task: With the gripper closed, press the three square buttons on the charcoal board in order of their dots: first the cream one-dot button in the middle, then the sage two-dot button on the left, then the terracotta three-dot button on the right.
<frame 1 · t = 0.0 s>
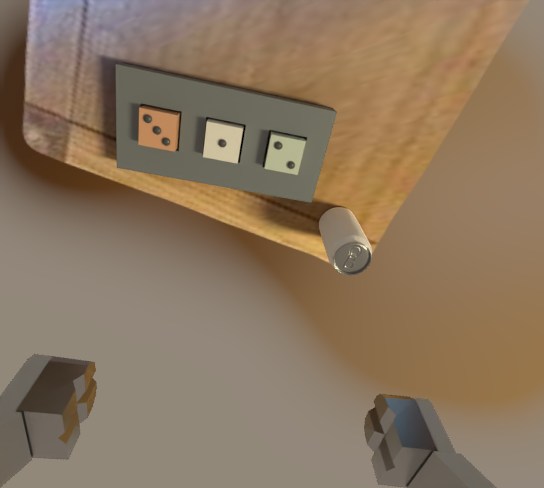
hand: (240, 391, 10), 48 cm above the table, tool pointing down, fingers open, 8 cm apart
three dot button: (159, 128, 50), point 3 cm above the table, slide at 0.0 cm
button board: (225, 135, 53), on the table
two dot button: (284, 152, 52), point 3 cm above the table, slide at 0.0 cm
one dot button: (223, 140, 51), point 3 cm above the table, slide at 0.0 cm
can: (336, 222, 61), on the table
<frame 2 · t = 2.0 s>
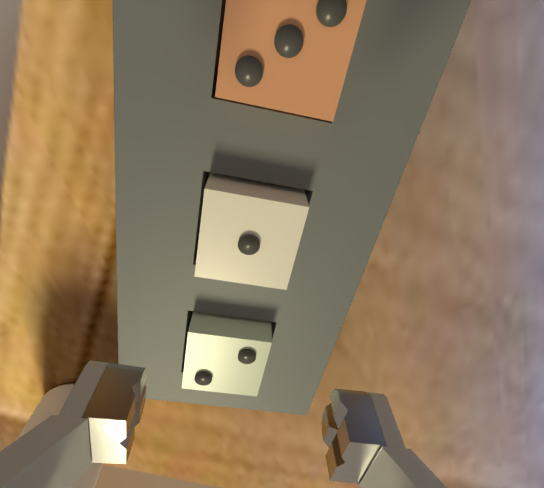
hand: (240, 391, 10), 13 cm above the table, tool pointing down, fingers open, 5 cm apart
three dot button: (286, 41, 15), point 3 cm above the table, slide at 0.0 cm
button board: (251, 207, 22), on the table
two dot button: (226, 349, 23), point 3 cm above the table, slide at 0.0 cm
one dot button: (249, 230, 19), point 3 cm above the table, slide at 0.0 cm
can: (84, 403, 31), on the table
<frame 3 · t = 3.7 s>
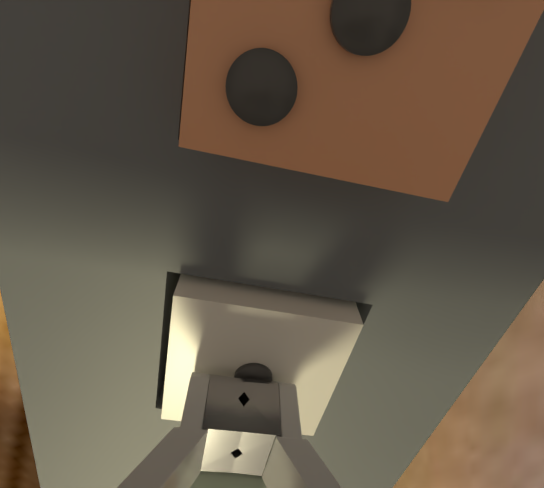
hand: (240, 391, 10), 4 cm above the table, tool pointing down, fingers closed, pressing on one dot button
three dot button: (347, 18, 6), point 3 cm above the table, slide at 0.0 cm
button board: (255, 299, 13), on the table
one dot button: (254, 340, 11), point 2 cm above the table, slide at 1.0 cm, touching gripper
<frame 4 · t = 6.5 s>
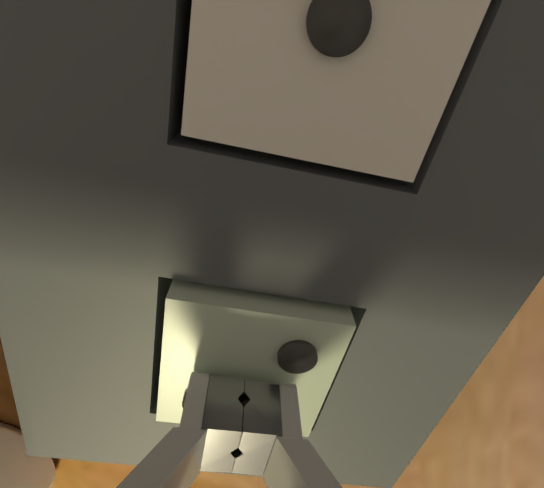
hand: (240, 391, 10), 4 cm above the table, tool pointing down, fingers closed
button board: (314, 28, 9), on the table
two dot button: (249, 342, 11), point 2 cm above the table, slide at 1.1 cm
one dot button: (325, 24, 7), point 2 cm above the table, slide at 1.3 cm
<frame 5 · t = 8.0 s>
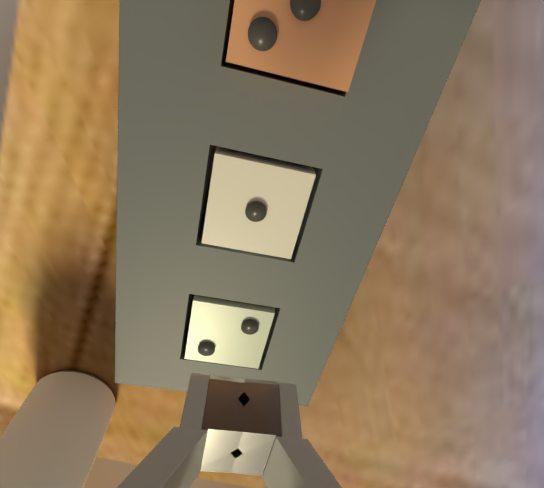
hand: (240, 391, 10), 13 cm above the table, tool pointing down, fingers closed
three dot button: (301, 6, 14), point 3 cm above the table, slide at 0.0 cm
button board: (256, 188, 21), on the table
two dot button: (229, 321, 24), point 2 cm above the table, slide at 1.3 cm
one dot button: (256, 200, 19), point 2 cm above the table, slide at 1.3 cm
can: (78, 392, 30), on the table
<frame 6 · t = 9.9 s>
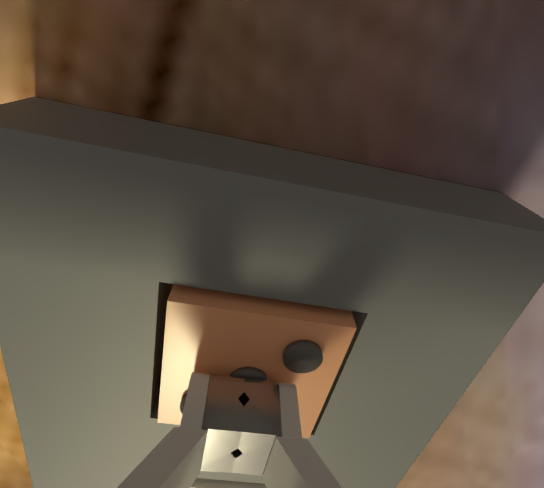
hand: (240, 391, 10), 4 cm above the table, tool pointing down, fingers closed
three dot button: (249, 344, 12), point 2 cm above the table, slide at 1.2 cm
button board: (219, 444, 18), on the table
one dot button: (215, 484, 16), point 2 cm above the table, slide at 1.3 cm
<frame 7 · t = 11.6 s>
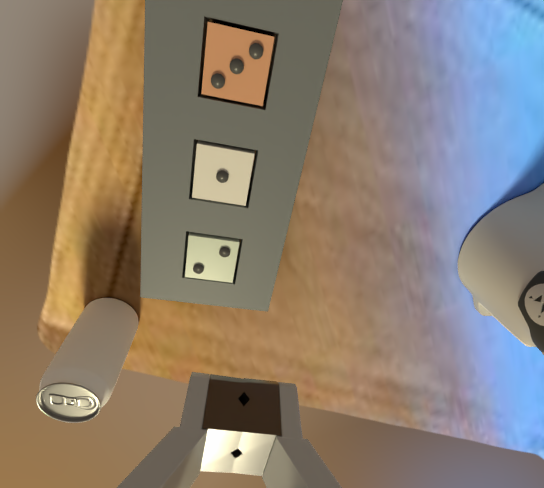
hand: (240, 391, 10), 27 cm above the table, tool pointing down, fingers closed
three dot button: (237, 65, 29), point 2 cm above the table, slide at 1.3 cm
button board: (224, 165, 34), on the table
two dot button: (212, 252, 37), point 2 cm above the table, slide at 1.3 cm
one dot button: (223, 171, 33), point 2 cm above the table, slide at 1.3 cm
can: (112, 315, 43), on the table
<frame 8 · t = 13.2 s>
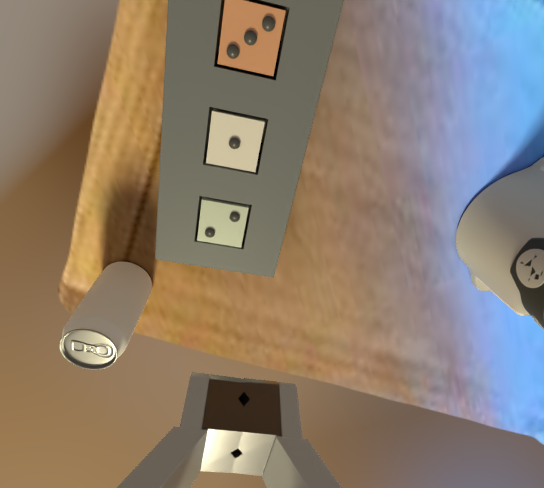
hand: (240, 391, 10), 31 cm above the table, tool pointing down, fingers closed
three dot button: (250, 38, 31), point 2 cm above the table, slide at 1.3 cm
button board: (236, 135, 37), on the table
two dot button: (223, 219, 40), point 2 cm above the table, slide at 1.3 cm
one dot button: (235, 139, 35), point 2 cm above the table, slide at 1.3 cm
can: (128, 279, 46), on the table
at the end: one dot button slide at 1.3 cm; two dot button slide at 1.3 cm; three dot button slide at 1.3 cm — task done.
